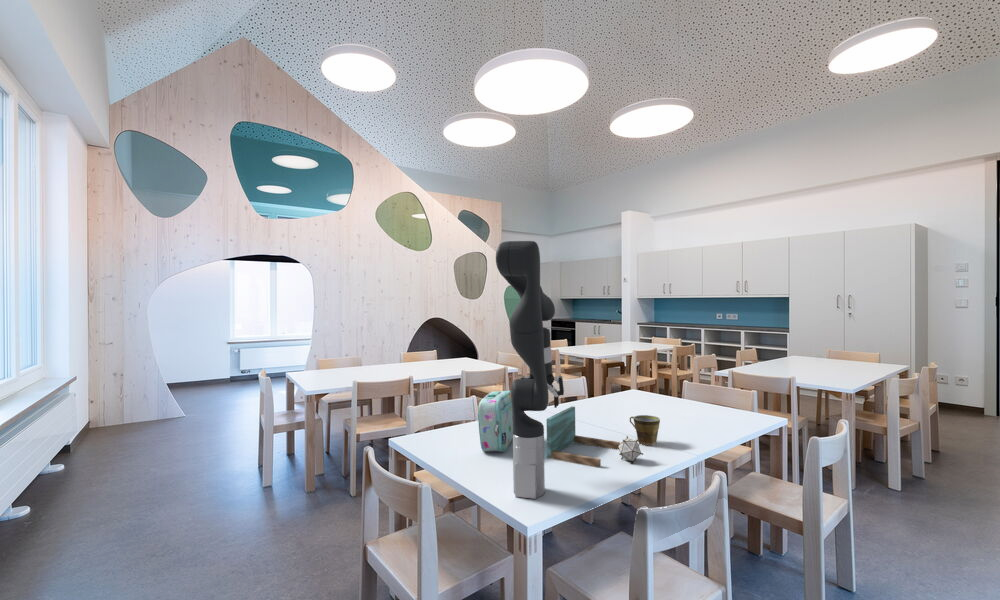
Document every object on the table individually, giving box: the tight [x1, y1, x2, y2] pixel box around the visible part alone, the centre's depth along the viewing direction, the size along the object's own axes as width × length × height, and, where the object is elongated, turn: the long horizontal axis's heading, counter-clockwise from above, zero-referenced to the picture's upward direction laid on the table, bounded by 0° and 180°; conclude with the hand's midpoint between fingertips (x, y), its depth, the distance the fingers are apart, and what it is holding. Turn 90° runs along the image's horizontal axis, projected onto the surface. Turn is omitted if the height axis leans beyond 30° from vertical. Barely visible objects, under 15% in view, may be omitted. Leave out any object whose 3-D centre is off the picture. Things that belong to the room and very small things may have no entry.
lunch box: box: [477, 389, 513, 453], centre depth 178 cm, size 27×10×21 cm, turn 168°
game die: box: [616, 435, 644, 464], centre depth 159 cm, size 9×8×10 cm
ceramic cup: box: [629, 414, 661, 447], centre depth 179 cm, size 13×10×10 cm
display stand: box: [546, 406, 621, 468], centre depth 168 cm, size 20×23×14 cm
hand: (542, 406), depth 150 cm, fingers open, 8 cm apart
